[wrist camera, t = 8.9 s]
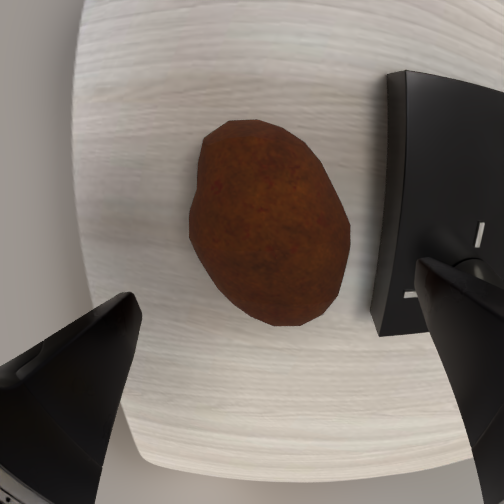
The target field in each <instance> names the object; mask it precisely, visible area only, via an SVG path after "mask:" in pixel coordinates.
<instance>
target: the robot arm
mask: <svg viewBox="0 0 504 504" xmlns="http://www.w3.org/2000/svg"><path fill="white" fill-rule="evenodd" d="M414 286H415V291H416V294H417V297H418V300H419V302H420V306H421V309H422V312H423V315H424V318H425V321H426V324H427V327H428V330H429V332H430V335H431V337H432V339H433V342H434V344H435V346H436V349H437V351H438V354H439V356H440V359H441V361H442V364H443V366H444V369H445V371H446V374H447V376H448V379H449V382H450V384H451V387H452V390H453V393H454V395H455V398H456V401H457V404H458V407H459V410H460V413H461V416H462V419H463V422H464V425H465V429H466V432H467V435H468V439H469V442H470V446H471V448H472V449H471V450H472V454H473V457H474V461H475V465H476V469H477V473H478V477H479V481H480V486H481V491H482V495H483V501H484V504H504V289H502V288H500V287H497V286H495V285H493V284H491V283H489V282H486V281H484V280H482V279H480V278H477V277H475V276H473V275H471V274H468V273H466V272H464V271H461V270H459V269H457V268H455V267H452V266H450V265H447V264H445V263H443V262H440V261H438V260H436V259H433V258H431V257H425V258H420V259H418V260H417V262H416V270H415V280H414ZM141 322H142V312H141V309H140V307H139V305H138V302H137V300H136V298H135V295H134V294H133V293H132V292H122V293H119V294H118V295H116V296H114V297H113V298H111V299H110V300H108V301H106V302H105V303H103V304H101V305H100V306H98V307H96V308H95V309H93V310H91V311H90V312H88V313H87V314H85V315H83V316H82V317H80V318H79V319H77V320H75V321H74V322H72V323H71V324H69V325H67V326H66V327H64V328H62V329H61V330H59V331H58V332H56V333H54V334H53V335H51V336H50V337H48V338H47V339H45V340H44V341H42V342H40V343H39V344H37V345H35V346H34V347H32V348H31V349H29V350H27V351H26V352H24V353H23V354H21V355H19V356H17V357H16V358H14V359H12V360H11V361H9V362H7V363H5V364H4V365H2V366H0V504H95V499H96V494H97V490H98V485H99V481H100V476H101V472H102V466H103V463H104V458H105V455H106V451H107V447H108V443H109V439H110V435H111V432H112V427H113V424H114V421H115V417H116V413H117V410H118V406H119V403H120V400H121V396H122V393H123V390H124V386H125V383H126V380H127V377H128V373H129V370H130V367H131V364H132V361H133V357H134V353H135V349H136V344H137V340H138V335H139V331H140V326H141Z"/></svg>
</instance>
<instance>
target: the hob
mask: <svg viewBox="0 0 504 504" xmlns="http://www.w3.org/2000/svg"><path fill="white" fill-rule="evenodd" d="M387 89H388V147H387V171H386V188H385V201H384V213H383V223H382V232H381V241H380V249H379V257H378V264H377V271H376V278H375V284H374V290H373V296H372V302H371V307H370V313H371V316H372V319H373V321H374V324H375V327H376V330H377V333H378V336H379V337H383V336H395V335H405V334H415V333H424V332H429V330H428V327H427V324H426V321H425V318H424V315H423V312H422V309H421V306H420V302H419V300H418V297H417V294H416V291H415V286H414V280H415V270H416V262H417V260H418V259H420V258H425V257H431V258H433V259H436V260H438V261H440V262H443V263H445V264H447V265H450V266H452V267H455V266H457V265H458V264H460V263H462V262H464V261H466V260H470V259H478V260H482V261H484V262H485V263H486V264H487V265H488V266H489V267H490V268H491V269H492V270H493V271H494V272H495V273H496V274H497V275H498V276H499V277H500V278H501V279H502V280H503V281H504V93H503V92H500V91H497V90H494V89H490V88H487V87H483V86H480V85H476V84H472V83H468V82H464V81H460V80H456V79H451V78H447V77H442V76H437V75H432V74H427V73H421V72H415V71H409V70H404V71H399V72H394V73H389V74H387Z"/></svg>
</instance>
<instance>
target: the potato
mask: <svg viewBox="0 0 504 504" xmlns="http://www.w3.org/2000/svg"><path fill="white" fill-rule="evenodd" d="M189 238H190V241H191V243H192V245H193V247H194V250H195V252H196V254H197V256H198V258H199V260H200V261H201V263H202V265H203V266H204V268H205V269H206V271H207V273H208V274H209V276H210V277H211V279H212V280H213V282H214V283H215V285H216V287H217V288H218V289H219V290H220V291H221V292H222V293H223V294H224V295H225V296H226V297H227V298H228V299H229V300H230V301H231V302H232V303H233V304H234V305H235V306H237V307H238V308H239V309H241V310H242V311H244V312H245V313H246V314H248V315H249V316H251V317H253V318H255V319H258V320H260V321H263V322H265V323H267V324H270V325H272V326H301V325H303V324H305V323H307V322H309V321H311V320H313V319H315V318H317V317H319V316H321V315H322V314H323V313H324V312H325V311H326V310H327V308H328V307H329V306H330V305H331V304H332V302H333V301H334V300H335V299H336V297H337V296H338V294H339V290H340V287H341V283H342V279H343V276H344V272H345V268H346V264H347V259H348V255H349V250H350V223H349V221H348V218H347V216H346V213H345V211H344V208H343V206H342V204H341V201H340V199H339V197H338V195H337V193H336V191H335V189H334V187H333V185H332V183H331V181H330V179H329V177H328V175H327V173H326V171H325V169H324V167H323V165H322V163H321V162H320V160H319V159H318V158H317V157H316V156H315V154H314V153H313V152H312V151H311V149H310V148H309V147H308V146H307V145H306V144H305V142H303V141H302V140H300V139H299V138H297V137H296V136H294V135H293V134H291V133H290V132H288V131H287V130H285V129H284V128H282V127H279V126H276V125H273V124H270V123H267V122H264V121H260V120H234V121H228V122H226V123H225V124H223V125H222V126H220V127H219V128H217V129H216V130H215V131H213V132H212V133H210V134H209V135H207V136H206V137H205V138H204V139H203V143H202V148H201V152H200V156H199V160H198V171H197V190H196V193H195V196H194V199H193V202H192V205H191V208H190V213H189Z"/></svg>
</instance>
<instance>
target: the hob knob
mask: <svg viewBox="0 0 504 504" xmlns="http://www.w3.org/2000/svg"><path fill="white" fill-rule="evenodd" d="M455 268H457V269H459V270H461V271H464V272H466V273H468V274H471V275H473V276H475V277H477V278H480V279H482V280H484V281H486V282H489V283H491V284H493V285H495V286H497V287H500V288H502V289H504V281H503V280H502V279H501V278H500V277H499V276H498V275H497V274H496V273H495V272H494V271H493V270H492V269H491V268H490V267H489V266H488V265H487V264H486V263H485V262H484V261H482V260H478V259H470V260H466V261H464V262H462V263H460V264H458V265H457V266H455Z"/></svg>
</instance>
